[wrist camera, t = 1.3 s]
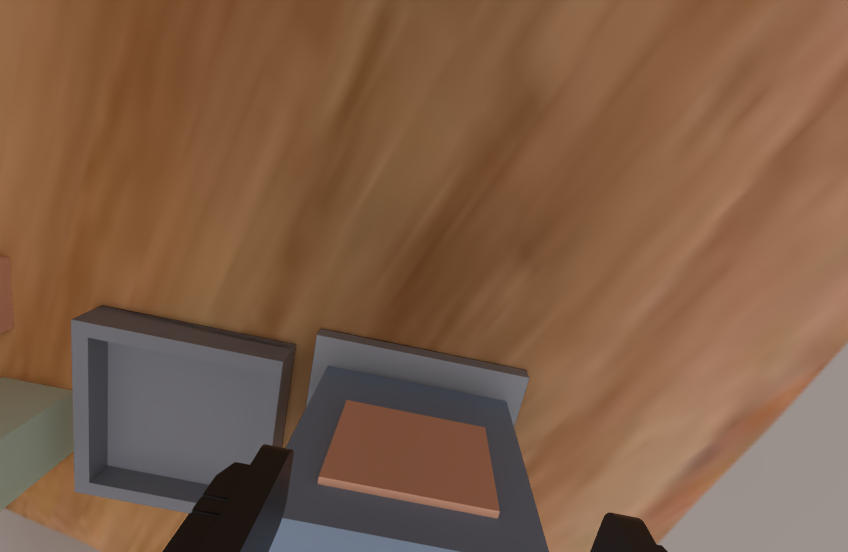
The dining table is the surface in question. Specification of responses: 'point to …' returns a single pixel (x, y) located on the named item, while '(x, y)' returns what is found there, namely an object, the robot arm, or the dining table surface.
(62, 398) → the sage block
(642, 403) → the dining table surface
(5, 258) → the terracotta block
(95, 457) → the tray
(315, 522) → the block
